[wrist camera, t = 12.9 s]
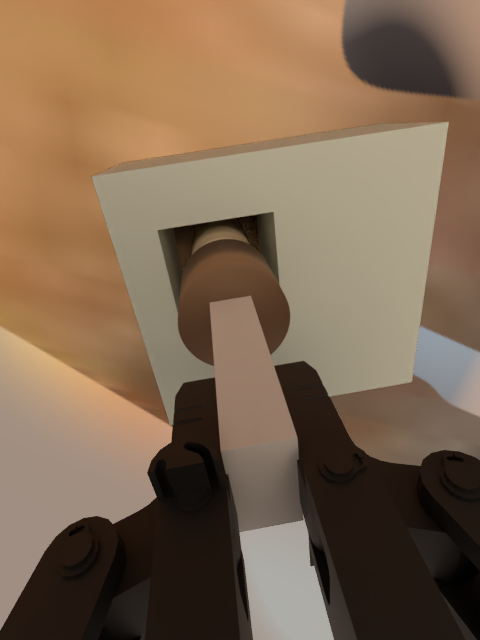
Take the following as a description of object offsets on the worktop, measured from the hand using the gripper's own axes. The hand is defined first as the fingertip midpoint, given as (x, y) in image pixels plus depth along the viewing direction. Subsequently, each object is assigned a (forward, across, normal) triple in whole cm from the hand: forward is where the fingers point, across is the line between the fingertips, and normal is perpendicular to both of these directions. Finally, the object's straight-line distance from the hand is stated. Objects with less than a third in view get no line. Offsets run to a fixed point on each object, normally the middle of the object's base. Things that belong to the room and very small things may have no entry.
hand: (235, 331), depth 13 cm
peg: (+13, 0, 0) cm, 13 cm away
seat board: (+13, +3, -2) cm, 13 cm away
